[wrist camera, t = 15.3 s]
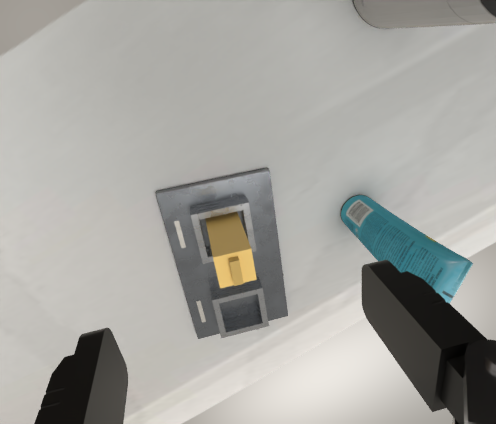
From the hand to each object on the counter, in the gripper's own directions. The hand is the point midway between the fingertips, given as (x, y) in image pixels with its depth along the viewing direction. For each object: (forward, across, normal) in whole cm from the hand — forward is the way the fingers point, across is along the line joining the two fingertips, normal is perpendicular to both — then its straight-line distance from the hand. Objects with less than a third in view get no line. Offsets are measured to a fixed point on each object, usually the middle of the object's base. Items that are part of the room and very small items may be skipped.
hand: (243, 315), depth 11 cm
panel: (+33, -1, +20) cm, 39 cm away
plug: (+32, -1, +14) cm, 35 cm away
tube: (+33, -20, +17) cm, 42 cm away
